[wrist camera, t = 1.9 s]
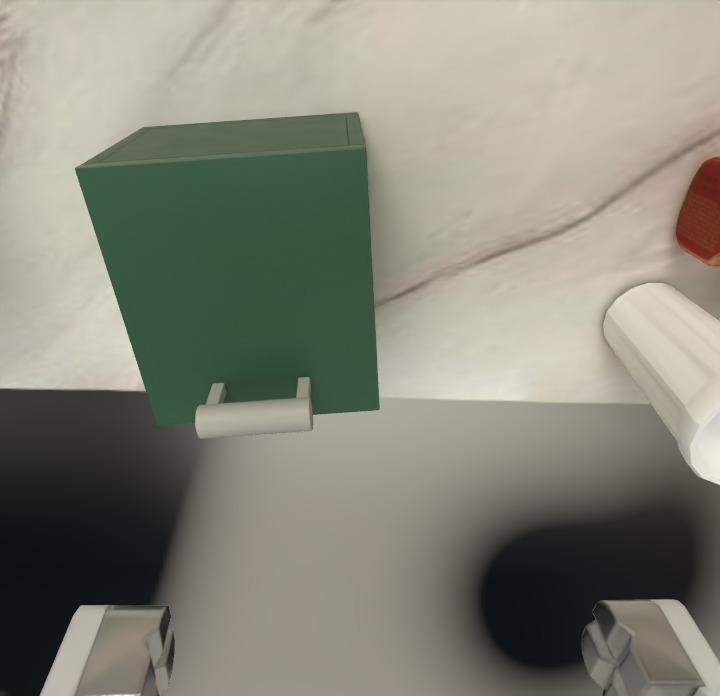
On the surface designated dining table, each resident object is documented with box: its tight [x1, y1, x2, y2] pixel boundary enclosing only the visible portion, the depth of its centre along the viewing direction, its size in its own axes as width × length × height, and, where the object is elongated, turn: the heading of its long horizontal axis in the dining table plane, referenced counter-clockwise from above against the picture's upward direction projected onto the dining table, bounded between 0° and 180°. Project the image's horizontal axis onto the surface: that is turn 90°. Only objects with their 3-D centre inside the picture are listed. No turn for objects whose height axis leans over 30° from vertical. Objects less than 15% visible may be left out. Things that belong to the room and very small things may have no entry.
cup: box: [603, 283, 720, 484], centre depth 37 cm, size 8×8×14 cm
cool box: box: [83, 112, 365, 164], centre depth 34 cm, size 15×14×10 cm
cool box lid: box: [75, 144, 379, 438], centre depth 28 cm, size 15×14×5 cm
